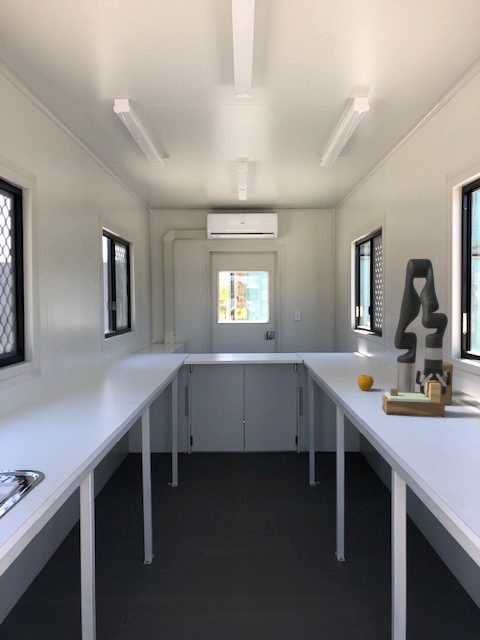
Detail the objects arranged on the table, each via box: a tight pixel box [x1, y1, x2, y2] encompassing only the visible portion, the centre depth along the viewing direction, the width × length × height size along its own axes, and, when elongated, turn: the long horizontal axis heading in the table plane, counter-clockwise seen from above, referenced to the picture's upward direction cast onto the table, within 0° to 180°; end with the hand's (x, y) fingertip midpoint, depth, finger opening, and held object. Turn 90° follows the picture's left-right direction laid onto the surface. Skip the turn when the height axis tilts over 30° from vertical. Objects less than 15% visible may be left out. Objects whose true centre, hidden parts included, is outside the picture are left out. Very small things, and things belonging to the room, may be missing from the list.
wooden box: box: [381, 394, 446, 418], centre depth 200 cm, size 12×24×6 cm, turn 81°
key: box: [424, 380, 441, 403], centre depth 199 cm, size 9×4×8 cm, turn 171°
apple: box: [357, 374, 375, 392], centre depth 249 cm, size 8×8×9 cm
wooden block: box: [436, 361, 454, 406], centre depth 219 cm, size 10×10×20 cm
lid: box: [384, 387, 430, 402], centre depth 201 cm, size 13×17×4 cm
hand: (432, 394), depth 199 cm, fingers open, 8 cm apart
